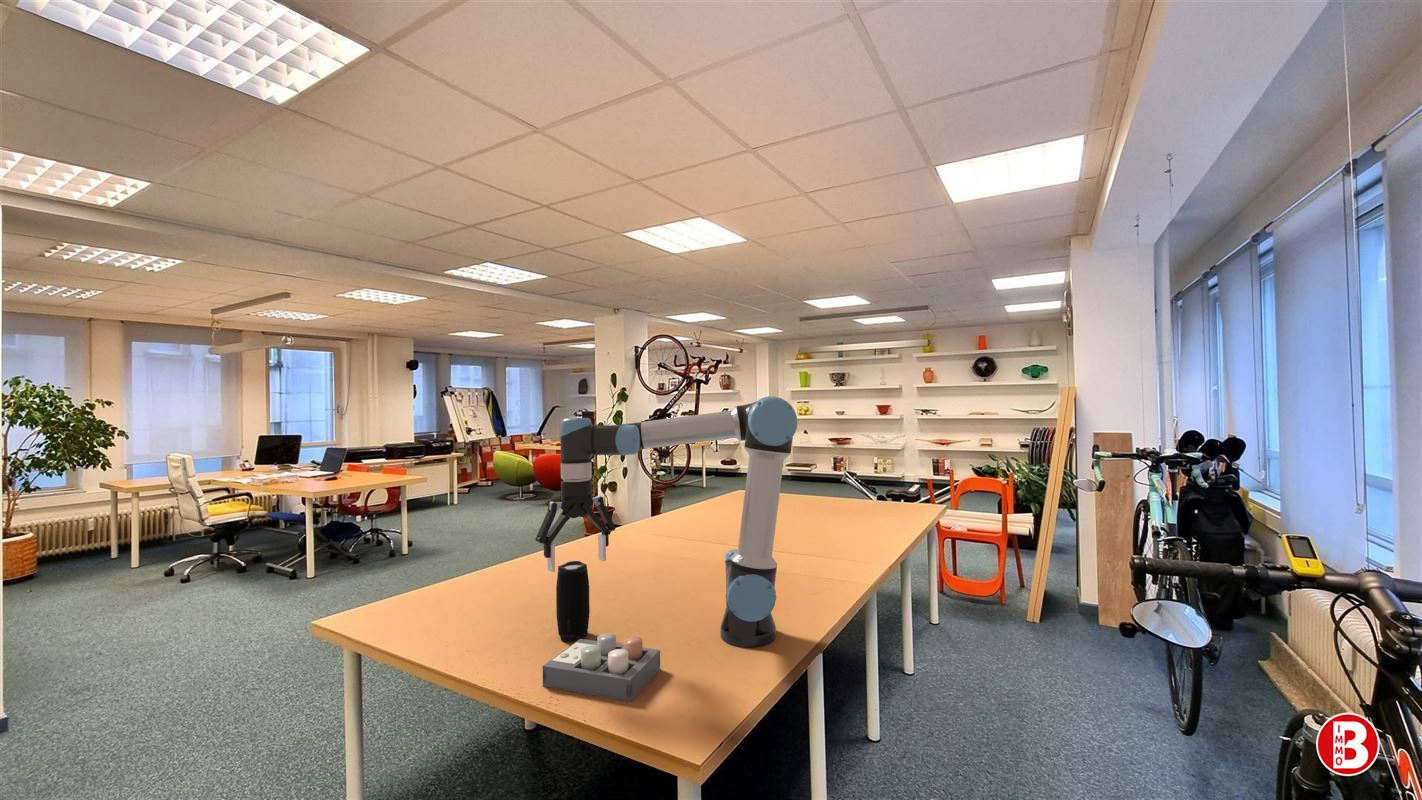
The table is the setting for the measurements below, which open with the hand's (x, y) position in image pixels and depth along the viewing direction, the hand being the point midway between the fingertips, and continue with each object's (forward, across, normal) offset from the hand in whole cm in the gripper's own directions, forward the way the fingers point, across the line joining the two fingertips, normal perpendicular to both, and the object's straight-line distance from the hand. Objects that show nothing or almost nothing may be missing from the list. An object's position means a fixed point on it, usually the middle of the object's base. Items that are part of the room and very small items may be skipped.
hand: (577, 565), depth 132 cm
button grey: (+20, -3, +9) cm, 22 cm away
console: (+23, 0, +12) cm, 26 cm away
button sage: (+20, +3, +13) cm, 24 cm away
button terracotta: (+20, -7, +15) cm, 26 cm away
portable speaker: (+24, -5, -15) cm, 28 cm away
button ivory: (+20, -1, +19) cm, 28 cm away
